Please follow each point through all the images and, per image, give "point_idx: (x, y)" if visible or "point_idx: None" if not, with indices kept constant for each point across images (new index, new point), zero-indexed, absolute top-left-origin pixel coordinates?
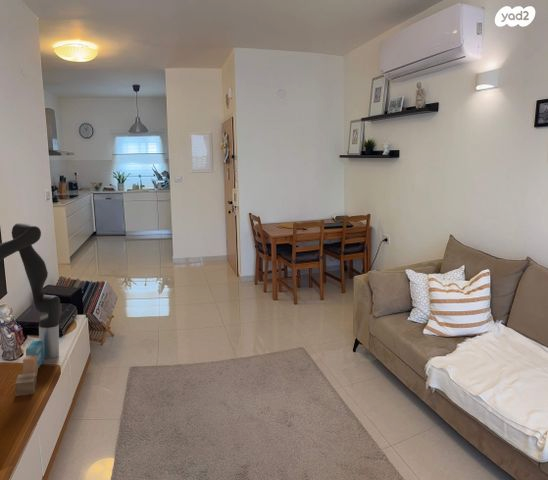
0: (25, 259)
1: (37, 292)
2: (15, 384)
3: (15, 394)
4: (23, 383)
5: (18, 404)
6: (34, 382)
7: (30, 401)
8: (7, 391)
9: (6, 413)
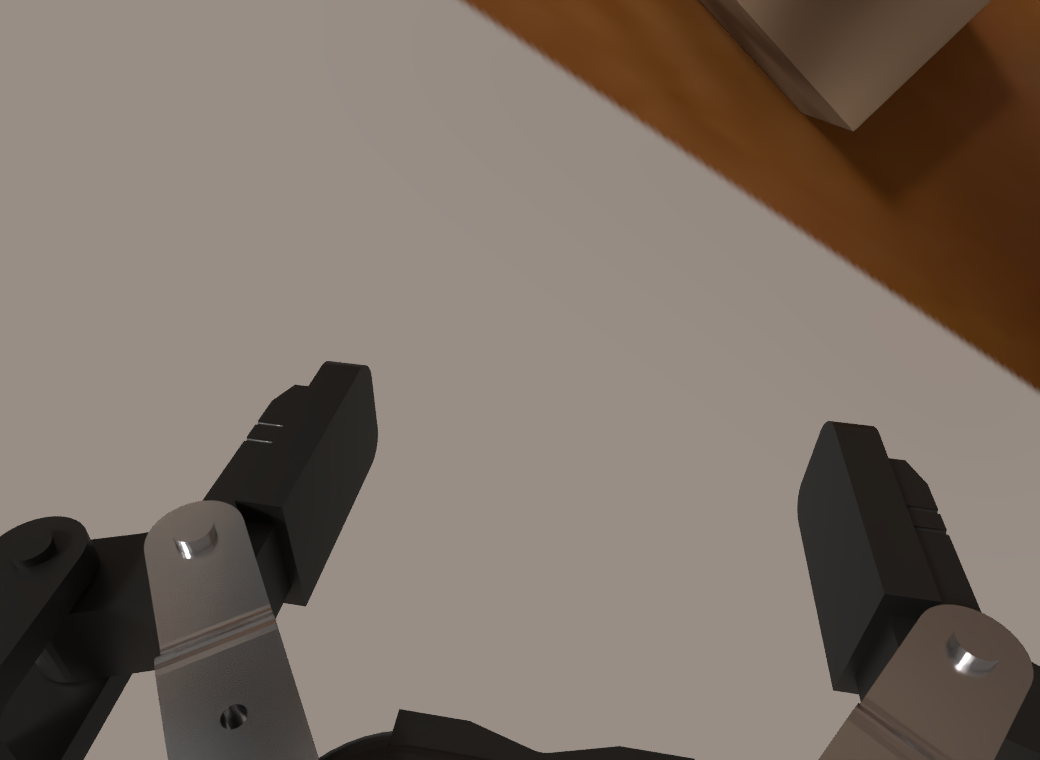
0: None
1: None
2: (851, 127)
3: (808, 114)
4: (921, 61)
5: (954, 195)
6: None
7: (1019, 99)
8: (651, 96)
9: (974, 331)
